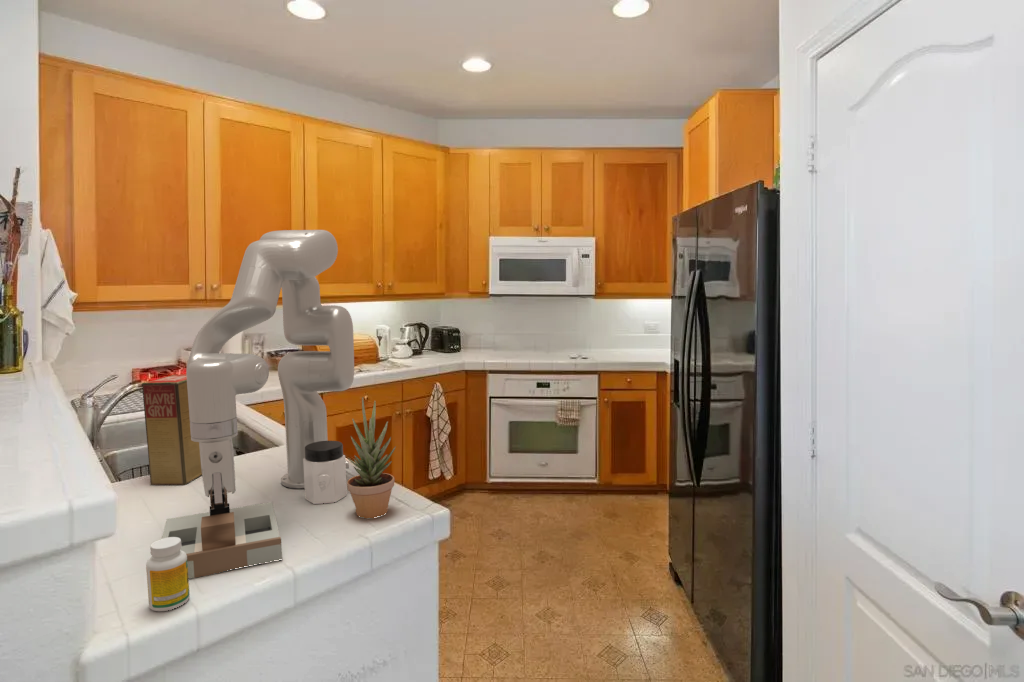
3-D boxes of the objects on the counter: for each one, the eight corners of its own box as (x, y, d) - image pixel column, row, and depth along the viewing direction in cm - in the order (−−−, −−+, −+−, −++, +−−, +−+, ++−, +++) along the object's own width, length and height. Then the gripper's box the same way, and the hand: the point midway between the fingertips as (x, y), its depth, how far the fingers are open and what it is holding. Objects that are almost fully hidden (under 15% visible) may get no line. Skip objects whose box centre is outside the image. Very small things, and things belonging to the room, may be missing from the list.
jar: (303, 506, 129) (300, 452, 128) (307, 493, 137) (304, 442, 136) (346, 502, 131) (343, 448, 130) (347, 489, 139) (345, 439, 138)
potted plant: (374, 501, 131) (369, 390, 129) (404, 510, 126) (401, 395, 123) (336, 516, 123) (331, 398, 120) (368, 527, 118) (363, 403, 115)
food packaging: (180, 468, 157) (173, 373, 154) (215, 468, 156) (209, 373, 154) (147, 485, 143) (139, 382, 141) (186, 485, 143) (178, 382, 140)
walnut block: (235, 539, 106) (233, 511, 105) (235, 550, 101) (234, 522, 101) (203, 544, 104) (201, 517, 103) (202, 556, 99) (200, 527, 99)
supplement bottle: (143, 605, 90) (138, 544, 89) (180, 590, 94) (175, 531, 93) (159, 616, 87) (154, 553, 86) (196, 600, 91) (192, 540, 90)
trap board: (273, 516, 124) (272, 497, 123) (282, 560, 104) (280, 538, 103) (167, 533, 115) (166, 513, 115) (155, 585, 96) (153, 561, 95)
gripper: (238, 435, 102) (245, 539, 104) (236, 417, 115) (242, 509, 117) (188, 441, 98) (196, 548, 100) (192, 422, 112) (198, 516, 114)
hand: (220, 527), depth 109 cm, fingers closed
